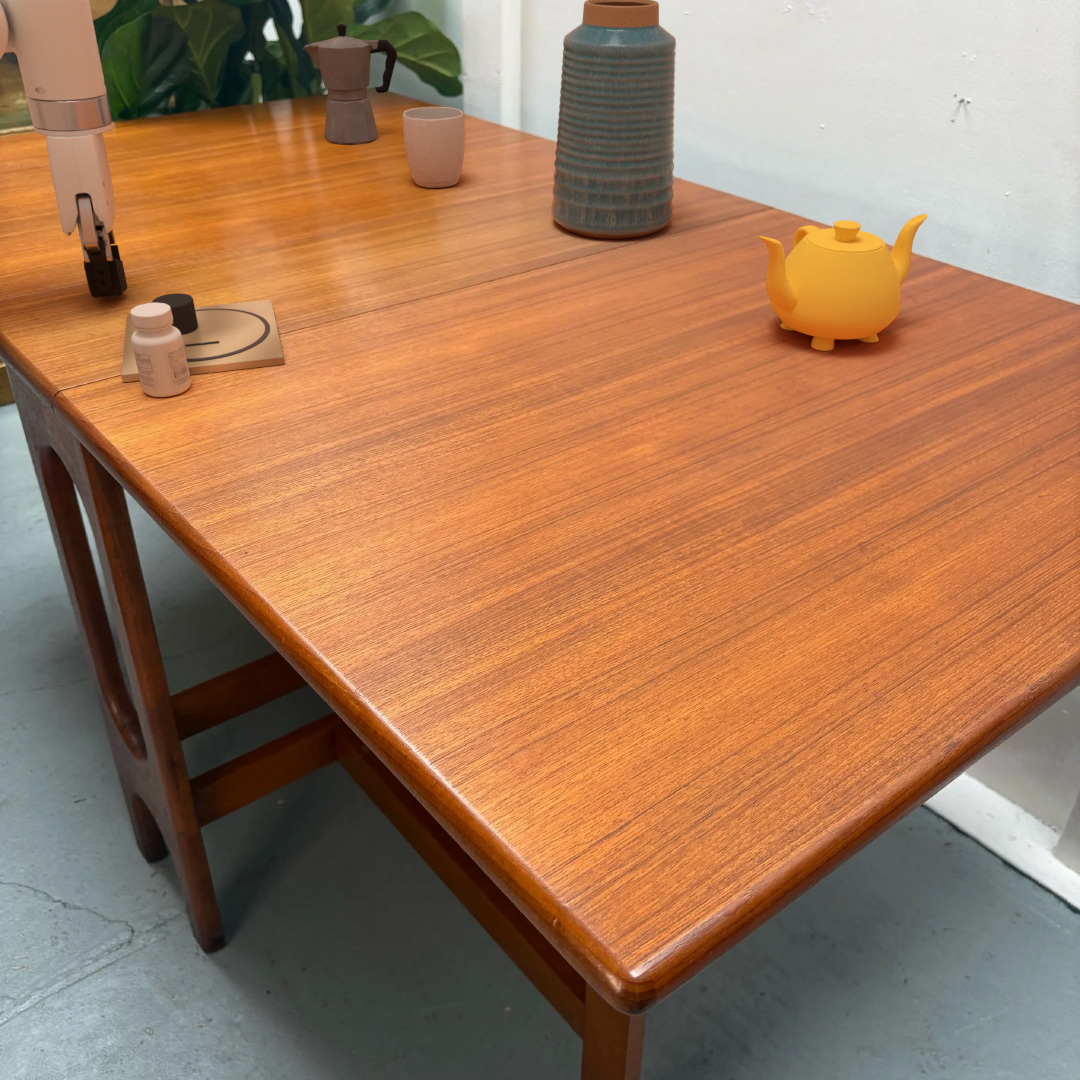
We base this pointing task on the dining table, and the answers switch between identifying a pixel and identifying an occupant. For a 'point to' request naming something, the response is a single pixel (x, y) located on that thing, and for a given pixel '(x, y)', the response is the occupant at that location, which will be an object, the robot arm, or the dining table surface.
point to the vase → (616, 123)
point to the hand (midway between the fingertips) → (108, 286)
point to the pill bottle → (159, 351)
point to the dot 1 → (121, 275)
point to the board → (222, 340)
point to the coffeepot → (350, 84)
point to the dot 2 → (181, 311)
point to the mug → (434, 145)
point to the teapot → (839, 281)
